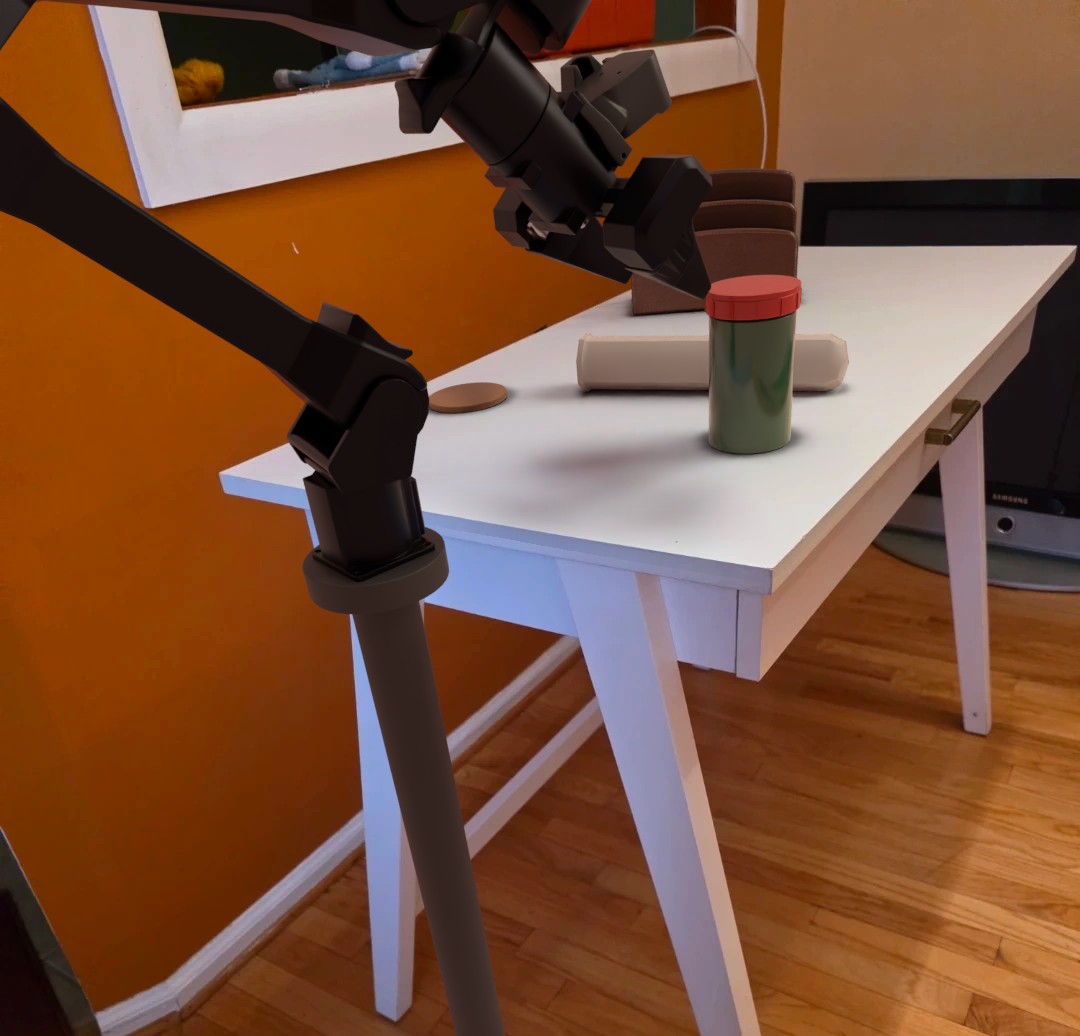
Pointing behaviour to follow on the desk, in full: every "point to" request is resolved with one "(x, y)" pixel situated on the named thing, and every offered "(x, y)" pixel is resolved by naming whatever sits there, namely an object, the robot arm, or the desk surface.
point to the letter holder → (734, 235)
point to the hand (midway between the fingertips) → (665, 285)
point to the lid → (753, 297)
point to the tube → (694, 362)
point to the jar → (751, 383)
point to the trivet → (467, 397)
